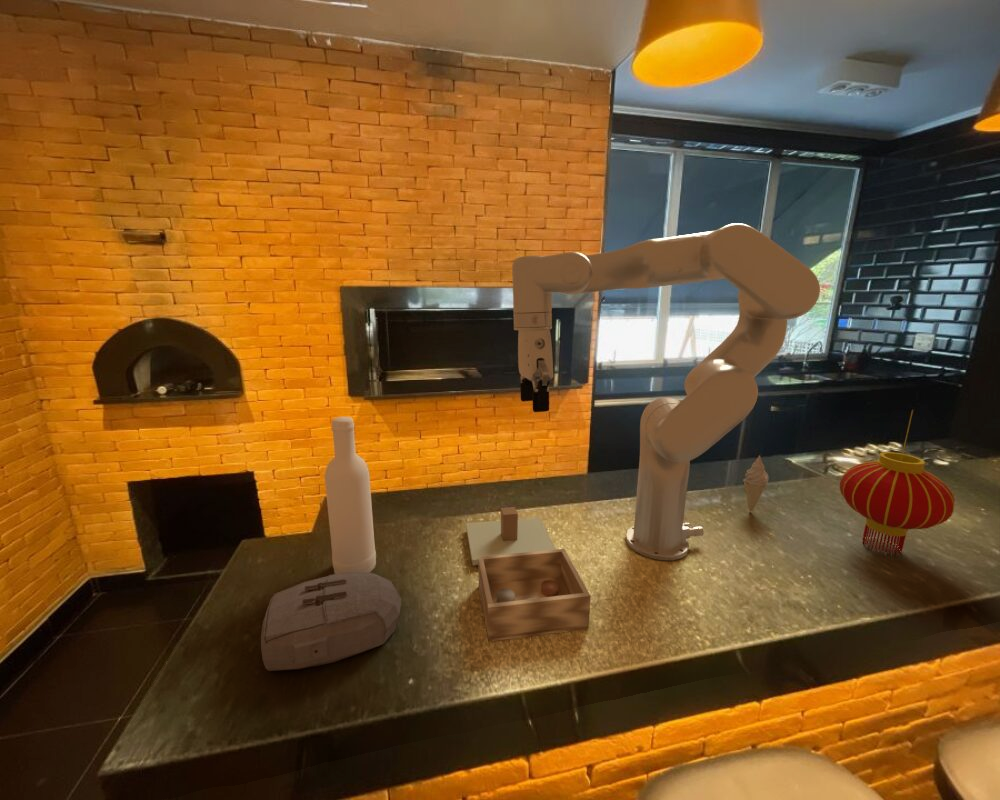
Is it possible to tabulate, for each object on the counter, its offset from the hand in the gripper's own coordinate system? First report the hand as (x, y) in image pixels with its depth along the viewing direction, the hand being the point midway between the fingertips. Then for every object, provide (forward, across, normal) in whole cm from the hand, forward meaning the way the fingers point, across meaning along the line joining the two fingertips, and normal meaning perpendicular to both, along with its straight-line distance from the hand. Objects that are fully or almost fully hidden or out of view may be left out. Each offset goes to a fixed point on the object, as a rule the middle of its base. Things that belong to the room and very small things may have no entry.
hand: (534, 405), depth 88 cm
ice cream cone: (+32, -1, -54) cm, 63 cm away
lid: (+28, -3, +7) cm, 29 cm away
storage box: (+29, -22, +7) cm, 37 cm away
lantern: (+32, -19, -70) cm, 79 cm away
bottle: (+28, -5, +38) cm, 48 cm away
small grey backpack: (+29, -22, +38) cm, 53 cm away
